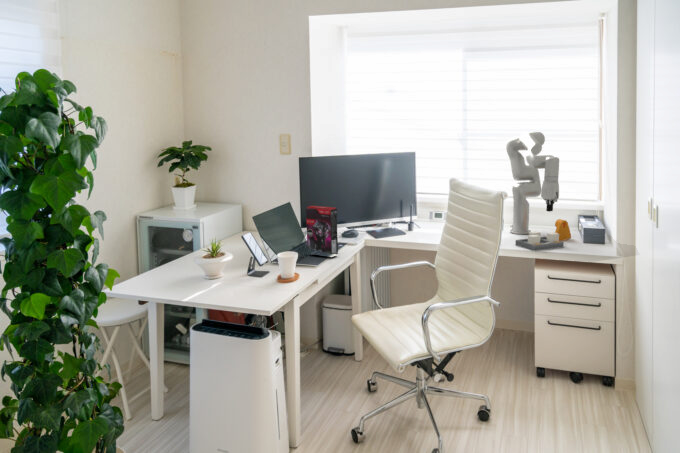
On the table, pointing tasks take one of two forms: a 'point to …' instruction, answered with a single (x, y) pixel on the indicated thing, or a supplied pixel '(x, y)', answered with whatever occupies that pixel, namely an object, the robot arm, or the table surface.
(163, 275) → the table surface
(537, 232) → the switch tab
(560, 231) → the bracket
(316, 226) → the graphics card box
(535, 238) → the switch tab
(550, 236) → the switch tab
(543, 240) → the dark grey tray
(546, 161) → the robot arm
